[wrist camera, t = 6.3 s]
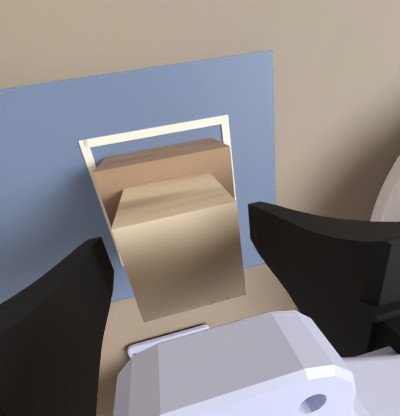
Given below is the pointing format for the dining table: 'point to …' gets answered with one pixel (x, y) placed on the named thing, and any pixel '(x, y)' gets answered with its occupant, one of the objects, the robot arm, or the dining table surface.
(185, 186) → the maple cube
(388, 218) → the plate stack
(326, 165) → the dining table surface
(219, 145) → the walnut base
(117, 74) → the board
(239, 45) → the dining table surface
